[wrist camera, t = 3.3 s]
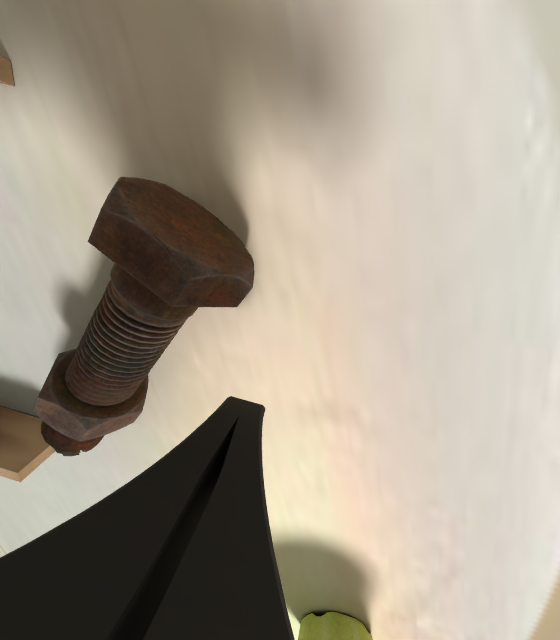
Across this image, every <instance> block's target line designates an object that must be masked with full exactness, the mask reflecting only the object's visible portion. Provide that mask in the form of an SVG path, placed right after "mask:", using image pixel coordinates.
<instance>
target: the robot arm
mask: <svg viewBox="0 0 560 640" xmlns="http://www.w3.org/2000/svg"><path fill="white" fill-rule="evenodd" d="M264 412H265V407H264V406H263V405H260V404H257V403H253V402H250V401H246V400H242V399H239V398H235V397H232V396H230V397H228V398H227V399H226V400H225V401H224V402H223V403H222V405H221V406H220V407H219V408H218V409H217V410H216V411H215V412H214V413H213V414H212V415H211V416H210V417H209V418H208V419H207V420H206V421H205V422H204V423H202V424H201V425H200V426H199V427H198V428H197V429H196V430H195V431H194V432H193V433H191V434H190V435H189V436H188V437H187V438H186V439H185V440H183V441H182V442H181V443H180V444H179V445H177V446H176V447H175V448H174V449H172V450H171V451H170V452H169V453H168V454H166V455H165V456H164V457H163V458H161V459H160V460H159V461H157V462H156V463H155V464H153V465H152V466H151V467H149V468H148V469H147V470H145V471H144V472H142V473H141V474H140V475H138V476H137V477H135V478H134V479H133V480H131V481H130V482H128V483H127V484H125V485H124V486H122V487H121V488H119V489H118V490H116V491H115V492H113V493H112V494H110V495H109V496H107V497H105V498H104V499H102V500H101V501H99V502H98V503H96V504H94V505H93V506H91V507H90V508H88V509H86V510H85V511H83V512H81V513H80V514H78V515H76V516H75V517H73V518H71V519H69V520H68V521H66V522H64V523H62V524H61V525H59V526H57V527H55V528H54V529H52V530H50V531H49V532H47V533H45V534H43V535H42V536H40V537H38V538H36V539H35V540H33V541H31V542H29V543H27V544H25V545H24V546H22V547H20V548H18V549H16V550H14V551H12V552H10V553H8V554H6V555H5V556H3V557H1V558H0V640H294V636H293V632H292V628H291V624H290V620H289V616H288V612H287V608H286V604H285V599H284V595H283V590H282V586H281V581H280V577H279V572H278V568H277V563H276V558H275V554H274V548H273V543H272V537H271V532H270V526H269V519H268V513H267V506H266V498H265V490H264V479H263V467H262V423H263V416H264Z"/></svg>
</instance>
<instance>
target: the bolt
mask: <svg viewBox="0 0 560 640" xmlns="http://www.w3.org/2000/svg"><path fill="white" fill-rule="evenodd" d="M88 242H89V243H90V244H92V245H93V246H94V247H95V248H97V249H98V250H99V251H101V252H102V253H103V254H104V255H106V256H107V257H108V258H110V259H111V260H112V261H113V262H115V264H114V266H113V268H112V270H111V280H110V282H109V284H108V286H107V287H106V291H105V292H104V294H103V297H102V299H101V301H100V303H99V305H98V307H97V308H96V310H95V312H94V314H93V316H92V318H91V320H90V322H89V325H88V326H87V328H86V331H85V333H84V335H83V337H82V339H81V341H80V344H79V346H78V347H77V349H74V350H70V351H67V352H63V353H60V354H59V355H58V357H57V358H56V360H55V362H54V364H53V367H52V369H51V371H50V373H49V375H48V377H47V379H46V381H45V383H44V385H43V387H42V390H41V392H40V394H39V396H38V398H37V401H36V403H35V405H34V407H33V411H34V412H35V413H36V414H37V415H38V416H39V417H40V418H41V419H42V420H43V421H42V424H41V434H42V436H43V438H44V440H45V442H46V443H48V444H49V445H50V446H51V447H53V448H54V450H55V451H56V452H57V453H61V454H62V455H63V456H75V455H79V453H81V452H80V450H82V451H83V452H84V451H85V452H87V451H89V450H91V449H92V448H94V447H95V446H96V445H97V444H98V443H99V442H100V441H101V440H102V438H103V437H104V435H106V434H109V433H111V432H114V431H116V430H119V429H121V428H123V427H125V426H127V425H129V424H131V423H133V422H134V421H135V420H136V419H137V417H138V416H139V415H140V414H141V412H142V410H143V406H144V402H145V398H146V394H147V389H148V373H149V372H150V370H151V368H152V367H153V366H154V364H155V363H156V362H157V360H158V359H159V358H160V356H161V354H162V353H163V352H164V350H165V349H166V348H167V347H168V345H169V344H170V342H171V341H172V339H173V338H174V337H175V335H176V334H177V333H178V330H179V329H180V328H181V327H182V325H183V324H184V323H185V321H186V320H187V318H188V317H190V316H191V315H193V313H194V312H195V311H196V310H197V308H198V307H237V306H238V305H239V304H240V303H241V301H242V300H243V299H244V298H245V296H246V295H247V294H248V293H249V291H250V290H251V289H252V288H253V280H254V263H253V259H252V257H251V255H250V254H249V252H248V251H247V249H246V248H245V246H244V245H243V243H242V242H241V241H240V240H239V239H238V237H237V236H236V235H235V234H234V233H233V232H232V231H231V230H230V229H229V228H228V227H226V226H225V225H224V224H223V223H222V222H221V221H220V220H219V219H218V218H217V217H215V216H214V215H213V214H211V213H210V212H209V211H207V210H206V209H204V208H203V207H201V206H200V205H199V204H197V203H196V202H194V201H192V200H191V199H189V198H187V197H186V196H184V195H182V194H181V193H179V192H177V191H176V190H174V189H172V188H170V187H169V186H167V185H164V184H161V183H158V182H154V181H149V180H145V179H140V178H129V177H120V178H119V179H118V181H117V182H116V184H115V185H114V187H113V188H112V190H111V192H110V193H109V195H108V197H107V199H106V201H105V203H104V204H103V206H102V208H101V211H100V213H99V215H98V218H97V220H96V223H95V225H94V228H93V230H92V233H91V235H90V237H89V240H88Z"/></svg>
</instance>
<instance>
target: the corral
mask: <svg viewBox="0 0 560 640" xmlns="http://www.w3.org/2000/svg"><path fill="white" fill-rule="evenodd" d="M0 83H3V84H7V85H12V86H14V80H13V74H12V68H11V62H10V60H8V59H6V58H4V57H2V56H0ZM42 421H43V420H42V419H41V418H38V417H34V416H31V415H27V414H24V413H21V412H17V411H14V410H11V409H7V408H4V407H1V406H0V476H3V477H6V478H9V479H12V480H15V481H19V482H21V481H22V480H23V479H24V478H26V477H27V476H28V475H29V474H30V473H31V472H32V471H33V470H35V469H36V468H37V467H38V466H39V465H40V464H41V463H42V462H44V461H45V460H46V459H47V458H48V457H49V456H50V455H51V454H52V453H54V452H55V450H54V448H53V447H51V446H50V445H49V444H48V443H46V442H45V440H44V438H43V436H42V434H41V424H42Z"/></svg>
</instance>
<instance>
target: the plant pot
mask: <svg viewBox="0 0 560 640" xmlns="http://www.w3.org/2000/svg"><path fill="white" fill-rule="evenodd" d="M298 640H373V639H372V635H371V634H370V633H368V632H367V630H366V628H365V626H364V625H363V624H362V623H361V622H359V621H358V620H356V619H355V618H352V617H349V616H346V615H343V614H340V613H338V612H327V613H326V614H324V615H323V616H315V615H314V614H312V613H311V614H309V615H307V616H305V617H304V618H303V619H302V621H301V624H300V631H299V637H298Z"/></svg>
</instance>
